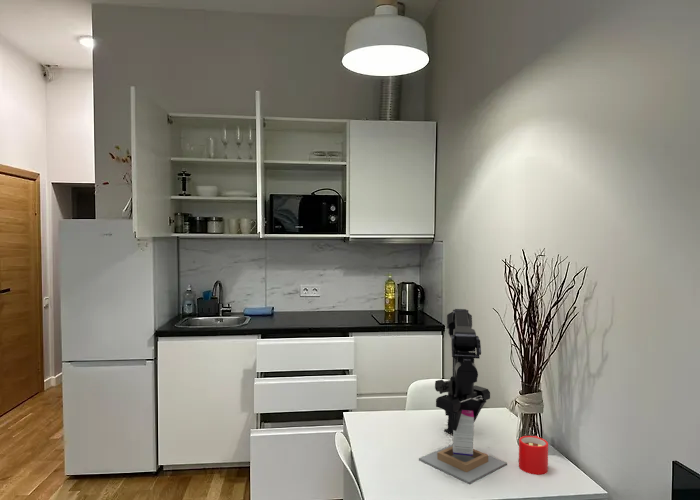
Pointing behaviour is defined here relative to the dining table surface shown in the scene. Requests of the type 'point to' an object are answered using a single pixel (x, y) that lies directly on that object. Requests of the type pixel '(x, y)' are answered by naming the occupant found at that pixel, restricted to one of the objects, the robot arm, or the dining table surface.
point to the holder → (463, 464)
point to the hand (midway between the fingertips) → (463, 426)
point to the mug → (533, 455)
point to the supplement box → (464, 434)
